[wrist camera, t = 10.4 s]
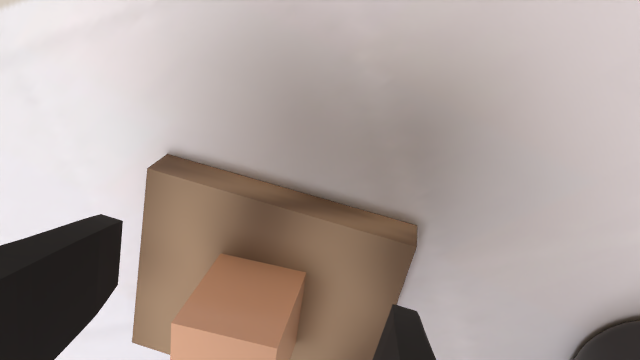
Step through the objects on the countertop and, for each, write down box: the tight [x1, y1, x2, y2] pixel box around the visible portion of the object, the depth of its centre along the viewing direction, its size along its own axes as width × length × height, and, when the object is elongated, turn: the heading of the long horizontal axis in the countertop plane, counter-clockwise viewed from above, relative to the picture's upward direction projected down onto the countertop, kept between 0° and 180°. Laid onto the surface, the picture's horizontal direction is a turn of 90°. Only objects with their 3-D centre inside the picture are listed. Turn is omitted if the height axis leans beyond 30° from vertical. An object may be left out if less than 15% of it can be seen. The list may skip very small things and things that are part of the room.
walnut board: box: [132, 154, 417, 360], centre depth 25 cm, size 12×10×2 cm
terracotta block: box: [170, 254, 306, 360], centre depth 21 cm, size 4×4×5 cm
